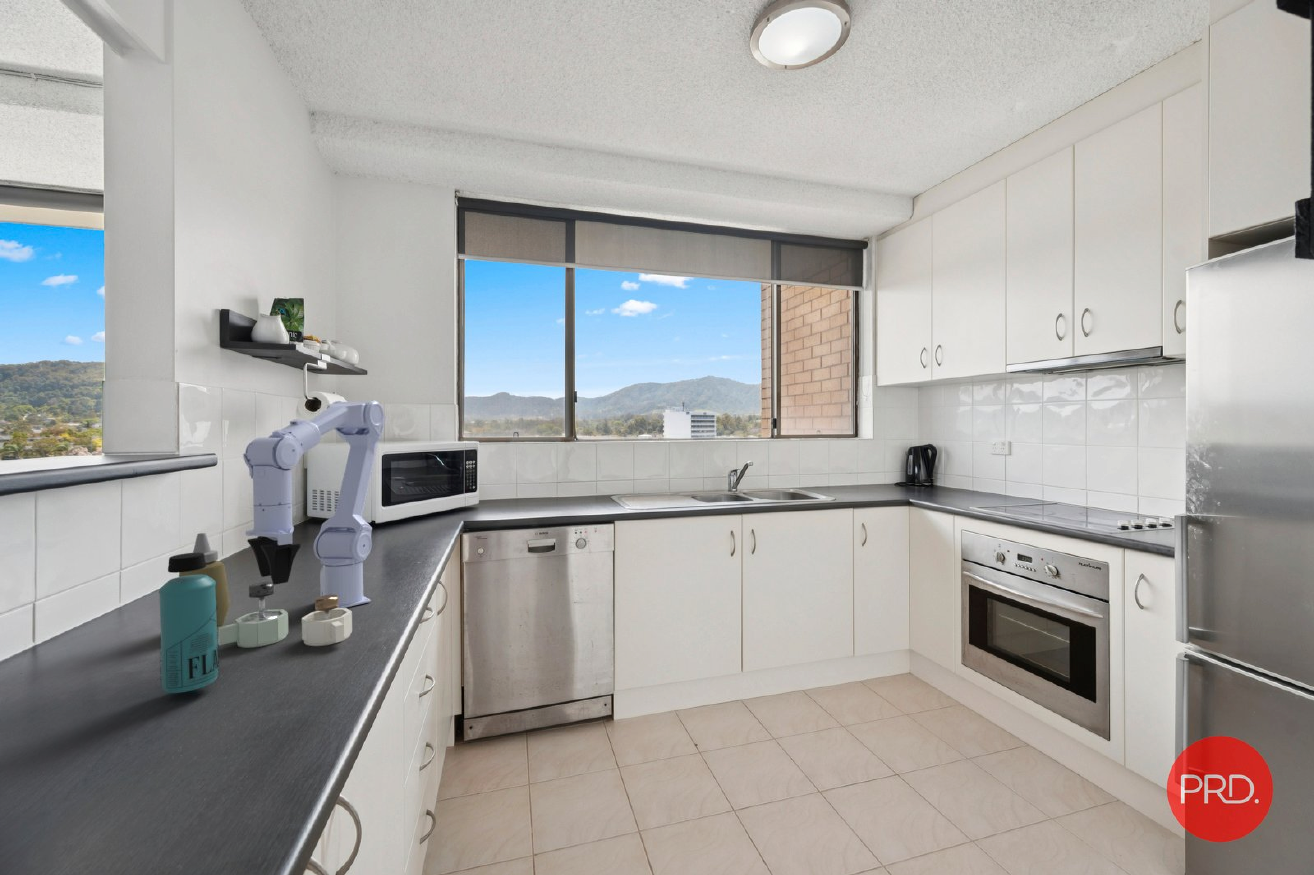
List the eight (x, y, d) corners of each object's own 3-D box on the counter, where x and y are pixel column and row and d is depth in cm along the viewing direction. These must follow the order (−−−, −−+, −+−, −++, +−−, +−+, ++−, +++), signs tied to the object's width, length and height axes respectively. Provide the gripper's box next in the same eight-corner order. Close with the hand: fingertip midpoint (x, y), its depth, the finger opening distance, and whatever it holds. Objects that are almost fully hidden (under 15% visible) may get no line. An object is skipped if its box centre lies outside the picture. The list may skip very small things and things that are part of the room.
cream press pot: (298, 638, 99) (298, 615, 99) (342, 627, 104) (342, 605, 104) (316, 653, 92) (315, 628, 92) (362, 641, 98) (361, 617, 98)
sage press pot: (280, 629, 104) (280, 606, 104) (292, 638, 99) (291, 615, 99) (214, 644, 96) (214, 620, 96) (223, 656, 92) (222, 631, 92)
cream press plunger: (307, 634, 99) (306, 598, 99) (337, 626, 103) (337, 591, 103) (316, 641, 96) (315, 604, 95) (347, 633, 99) (347, 597, 99)
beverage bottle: (186, 706, 75) (182, 560, 75) (147, 702, 76) (143, 558, 76) (231, 684, 82) (228, 549, 81) (195, 680, 83) (192, 548, 82)
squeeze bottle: (241, 621, 108) (239, 529, 107) (203, 637, 100) (201, 538, 99) (203, 620, 109) (201, 529, 108) (163, 636, 101) (160, 537, 100)
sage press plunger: (241, 621, 98) (240, 585, 98) (275, 613, 102) (274, 579, 102) (248, 628, 95) (247, 590, 95) (282, 620, 99) (281, 584, 99)
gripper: (235, 502, 101) (237, 576, 101) (257, 510, 91) (258, 592, 92) (281, 499, 106) (282, 569, 107) (305, 505, 97) (306, 582, 97)
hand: (274, 579), depth 99 cm, fingers open, 7 cm apart
